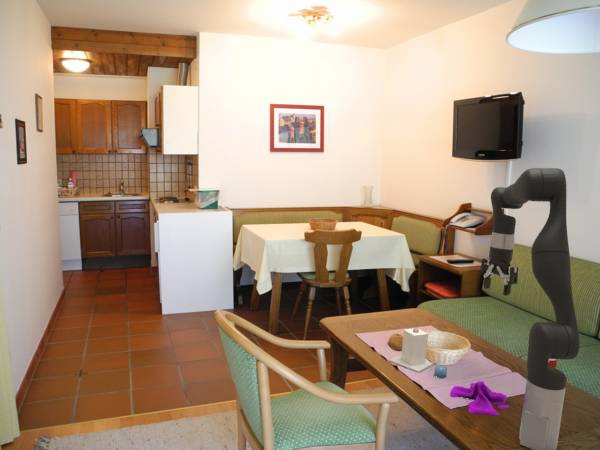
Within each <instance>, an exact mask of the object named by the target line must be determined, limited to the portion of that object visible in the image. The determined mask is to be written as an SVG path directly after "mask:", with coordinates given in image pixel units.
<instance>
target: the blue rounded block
mask: <svg viewBox="0 0 600 450" xmlns="http://www.w3.org/2000/svg"><path fill="white" fill-rule="evenodd" d="M447 374H448V367H447V366H446V365H443V364H437V365H436V364H435V367H434V374H433V375H434V377H436V376H437V377H436V378H438V377H439V378H438V379H446V378H447V377H448V376H447ZM445 377H446V378H445Z"/></svg>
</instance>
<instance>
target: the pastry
mask: <svg viewBox="0 0 600 450" xmlns="http://www.w3.org/2000/svg"><path fill="white" fill-rule="evenodd" d="M387 342H388V345H389V347H390V348H391V349H393V350H395V351H396V350H398V351H402V345H403V335H402V334H400V333H395V334H394V333H393V334H391V335H390V336H389V339H388V341H387Z"/></svg>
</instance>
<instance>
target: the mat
mask: <svg viewBox="0 0 600 450" xmlns="http://www.w3.org/2000/svg"><path fill="white" fill-rule="evenodd" d="M401 356H402V353H401V354H400V355H397V356H395V357H393V358H391V359H390V358H389V360H388V361H389V362H390V363H393V364H395V365H397V366H400V367H403V368H406V369H408V370H410V371H412V372H413V371H414V372H415V373H421V372H423V371H425V370H427V369H428V367H429V368H430V366H431V365H432V363H430V362H429V361H428V360H427V359H428V358H427V359H426V360H425V363H424V364H418V365H412V366H411V365H410V364H408V363H407V362H405V361H404V360H402V359H401ZM432 366H433V365H432ZM432 366H431V367H432Z"/></svg>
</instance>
